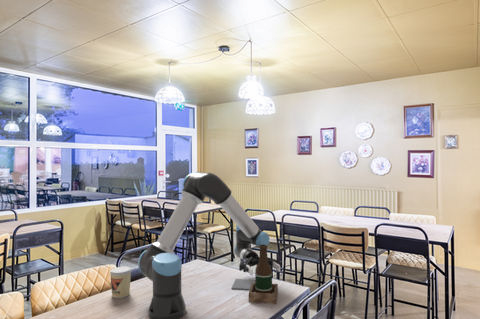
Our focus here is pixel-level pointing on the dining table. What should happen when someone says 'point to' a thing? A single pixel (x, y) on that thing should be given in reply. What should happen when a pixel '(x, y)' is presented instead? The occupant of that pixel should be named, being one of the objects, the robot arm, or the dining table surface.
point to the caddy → (263, 295)
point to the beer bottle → (263, 273)
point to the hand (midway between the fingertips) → (266, 270)
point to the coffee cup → (120, 281)
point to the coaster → (242, 284)
